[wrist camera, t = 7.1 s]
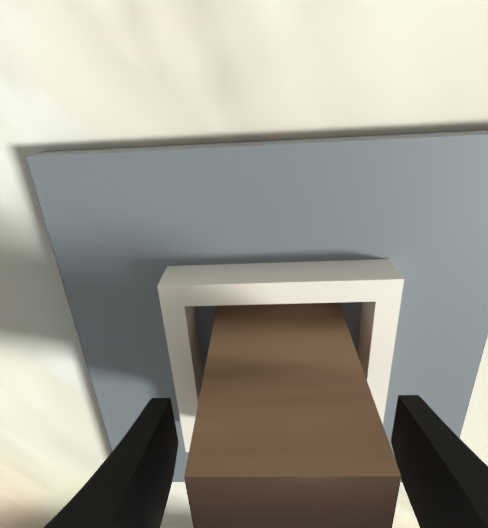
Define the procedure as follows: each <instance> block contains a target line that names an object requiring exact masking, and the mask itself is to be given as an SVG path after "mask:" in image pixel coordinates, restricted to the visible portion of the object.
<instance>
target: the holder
mask: <svg viewBox="0 0 488 528" xmlns="http://www.w3.org/2000/svg"><path fill="white" fill-rule="evenodd" d="M26 159H27V162H28V166H29V169H30V173H31V176H32V180H33V183H34V186H35V190H36V193H37V197H38V200H39V203H40V207H41V210H42V214H43V217H44V220H45V224H46V227H47V231H48V234H49V238H50V241H51V244H52V248H53V251H54V255H55V258H56V261H57V265H58V268H59V272H60V275H61V278H62V282H63V285H64V289H65V292H66V295H67V299H68V302H69V306H70V309H71V313H72V316H73V319H74V323H75V326H76V330H77V333H78V336H79V340H80V343H81V347H82V350H83V353H84V357H85V360H86V364H87V367H88V371H89V374H90V377H91V381H92V384H93V388H94V391H95V394H96V398H97V401H98V405H99V408H100V411H101V415H102V418H103V422H104V425H105V428H106V432H107V435H108V439H109V442H110V446H111V449H112V451H113V450H114V449H115V447H116V446H117V445H118V444H119V442H120V441H121V440H122V438H123V437H124V436H125V434H126V433H127V432H128V430H129V429H130V427H131V426H132V425H133V423H134V422H135V421H136V419H137V418H138V416H139V415H140V413H141V412H142V410H143V409H144V408H145V406H146V405H147V403H148V402H149V400H150V399H152V398H171V403H172V409H173V414H174V420H175V425H176V431H177V436H178V442H179V443H178V450H177V457H176V464H175V470H174V476H173V480H172V482H185V479H184V475H185V470H186V465H187V459H188V454H189V449H190V444H191V439H192V433H193V428H194V423H195V418H196V412H197V407H198V402H199V397H200V392H201V386H202V381H203V376H204V371H205V365H206V360H207V355H208V350H209V345H210V339H211V334H212V329H213V324H214V318H215V313H216V308H217V306H219V305H259V304H299V303H338V302H339V305H340V307H341V310H342V313H343V316H344V318H345V321H346V324H347V327H348V330H349V332H350V335H351V338H352V341H353V344H354V346H355V349H356V352H357V355H358V357H359V360H360V363H361V366H362V369H363V371H364V374H365V377H366V380H367V382H368V385H369V388H370V391H371V394H372V396H373V399H374V402H375V405H376V408H377V410H378V413H379V416H380V419H381V421H382V424H383V427H384V430H385V433H386V435H387V438H388V441H389V444H390V446H391V449H392V452H393V448H392V444H391V437H392V431H393V425H394V418H395V412H396V406H397V400H398V395H419V396H420V397H421V398H422V399H423V400H424V401H425V402H426V403H427V404H428V406H429V407H430V408H431V409H432V410H433V411H434V412H435V413H436V414H437V415H438V416H439V417H440V419H441V420H442V421H443V422H444V423H445V424H446V425H447V426H448V427H449V428H450V429H451V430H452V431H453V432H454V433H455V434H456V435H457V436H458V437H459V438H460V434H461V430H462V427H463V423H464V419H465V416H466V412H467V408H468V405H469V401H470V397H471V394H472V390H473V386H474V383H475V379H476V375H477V372H478V368H479V364H480V361H481V357H482V353H483V350H484V346H485V342H486V339H487V335H488V130H475V131H455V132H435V133H414V134H394V135H374V136H354V137H334V138H313V139H293V140H273V141H253V142H232V143H212V144H192V145H172V146H152V147H131V148H111V149H91V150H71V151H51V152H40V153H37V154H34V155H31V156H28V157H26ZM393 455H394V452H393ZM394 458H395V456H394ZM400 482H402V480H400Z"/></svg>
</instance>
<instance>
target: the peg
mask: <svg viewBox="0 0 488 528" xmlns="http://www.w3.org/2000/svg"><path fill="white" fill-rule="evenodd" d="M184 479H185V484H186V489H187V495H188V500H189V505H190V510H191V516H192V521H193V526H194V528H392V524H393V518H394V513H395V507H396V502H397V497H398V491H399V486H400V480H401V474H400V471H399V469H398V466H397V463H396V460H395V458H394V455H393V452H392V449H391V446H390V444H389V441H388V438H387V435H386V433H385V430H384V427H383V424H382V421H381V419H380V416H379V413H378V410H377V408H376V405H375V402H374V399H373V396H372V394H371V391H370V388H369V385H368V382H367V380H366V377H365V374H364V371H363V369H362V366H361V363H360V360H359V357H358V355H357V352H356V349H355V346H354V344H353V341H352V338H351V335H350V332H349V330H348V327H347V324H346V321H345V318H344V316H343V313H342V310H341V307H340V305H339V302H338V303H299V304H259V305H219V306H217V308H216V313H215V318H214V324H213V329H212V334H211V339H210V345H209V350H208V355H207V360H206V365H205V371H204V376H203V381H202V386H201V392H200V397H199V402H198V407H197V412H196V418H195V423H194V428H193V433H192V439H191V444H190V449H189V454H188V459H187V465H186V470H185V475H184Z"/></svg>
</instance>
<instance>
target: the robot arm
mask: <svg viewBox="0 0 488 528" xmlns="http://www.w3.org/2000/svg"><path fill="white" fill-rule="evenodd" d="M178 443H179V442H178V436H177V431H176V425H175V420H174V414H173V409H172V403H171V398H152V399H150V400H149V402H148V403H147V405H146V406H145V408H144V409H143V410H142V412H141V413H140V415H139V416H138V418H137V419H136V421H135V422H134V423H133V425H132V426H131V427H130V429H129V430H128V432H127V433H126V434H125V436H124V437H123V438H122V440H121V441H120V442H119V444H118V445H117V446H116V447H115V449H114V450H113V451H112V453H111V454H110V455H109V456H108V458H107V459H106V460H105V461H104V463H103V464H102V465H101V466H100V467H99V469H98V470H97V471H96V472H95V473H94V475H93V476H92V477H91V478H90V479H89V481H88V482H87V483H86V484H85V485H84V486H83V487H82V488H81V490H80V491H79V492H78V493H77V494H76V495H75V496H74V497H73V498H72V499H71V501H70V502H69V503H68V504H67V505H66V506H65V507H64V508H63V509H62V510H61V511H60V512H59V513H58V514H57V515H56V516H55V517H54V518H53V519H52V520H51V521H50V522H49V523H48V524H47V525H46V526H45V527H44V528H160V526H161V522H162V518H163V514H164V511H165V507H166V503H167V499H168V495H169V492H170V488H171V484H172V480H173V476H174V470H175V464H176V457H177V450H178ZM391 444H392V448H393V452H394V456H395V460H396V463H397V466H398V469H399V471H400V474H401V480H402V482H403V485H404V487H405V490H406V493H407V495H408V498H409V500H410V503H411V505H412V508H413V511H414V513H415V516H416V518H417V521H418V523H419V526H420V528H488V466H487V465H486V464H485V463H484V462H483V461H481V460H480V459H479V458H478V457H477V456H476V455H475V454H474V453H473V452H472V451H471V450H470V449H469V448H468V447H467V446H466V445H465V444H464V443H463V442H462V441H461V440H460V439H459V437H458V436H457V435H456V434H455V433H454V432H453V431H452V430H451V429H450V428H449V427H448V426H447V425H446V424H445V423H444V422H443V421H442V420H441V419H440V417H439V416H438V415H437V414H436V413H435V412H434V411H433V410H432V409H431V408H430V407H429V406H428V404H427V403H426V402H425V401H424V400H423V399H422V398H421V397H420V396H419V395H398V400H397V406H396V412H395V418H394V425H393V431H392V437H391Z"/></svg>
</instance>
